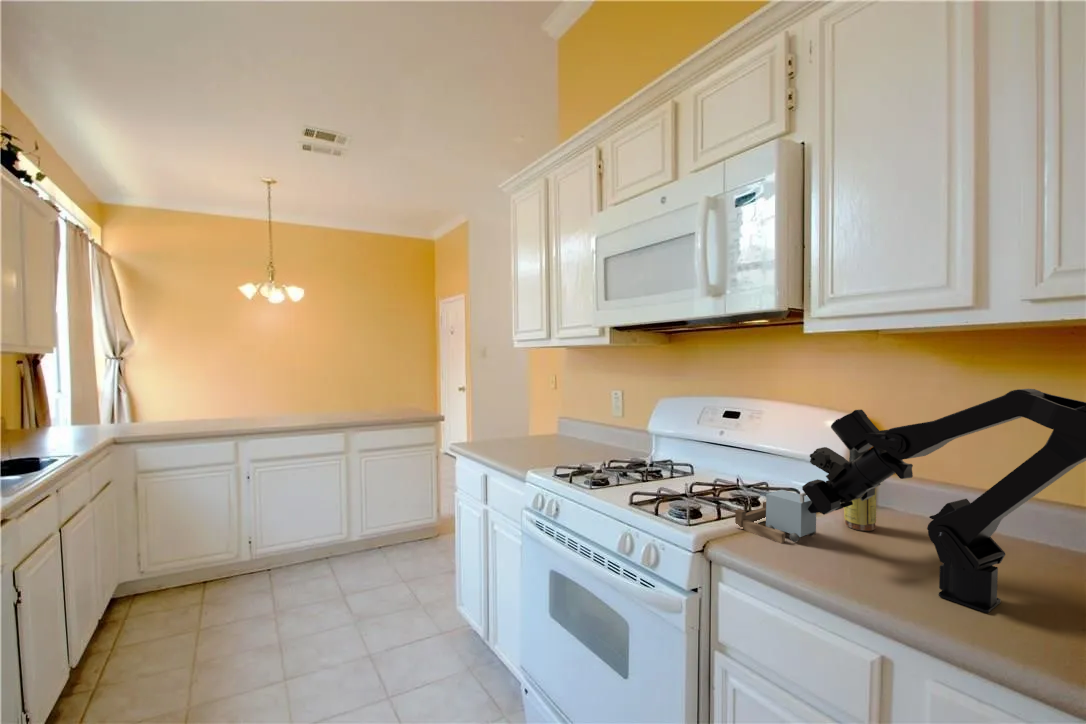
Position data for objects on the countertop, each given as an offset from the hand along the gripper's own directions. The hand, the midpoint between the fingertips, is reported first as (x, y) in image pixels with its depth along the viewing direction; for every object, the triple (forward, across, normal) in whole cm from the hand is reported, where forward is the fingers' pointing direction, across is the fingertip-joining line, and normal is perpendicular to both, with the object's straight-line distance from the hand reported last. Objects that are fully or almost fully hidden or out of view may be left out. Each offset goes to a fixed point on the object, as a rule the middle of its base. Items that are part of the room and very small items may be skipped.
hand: (810, 511), depth 107 cm
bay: (+11, 0, -2) cm, 11 cm away
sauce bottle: (+4, -18, +6) cm, 19 cm away
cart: (+8, 0, +2) cm, 8 cm away
